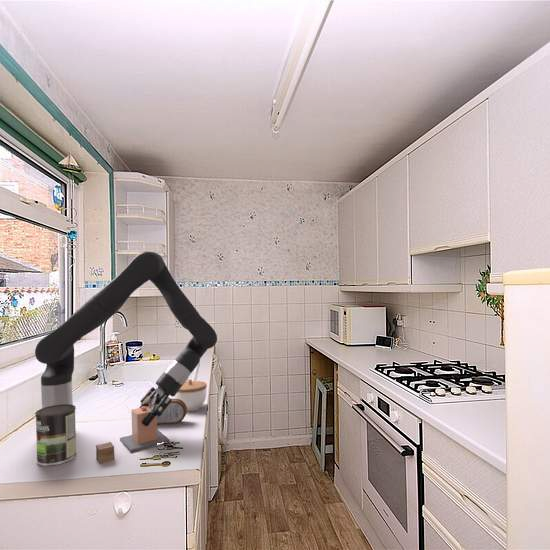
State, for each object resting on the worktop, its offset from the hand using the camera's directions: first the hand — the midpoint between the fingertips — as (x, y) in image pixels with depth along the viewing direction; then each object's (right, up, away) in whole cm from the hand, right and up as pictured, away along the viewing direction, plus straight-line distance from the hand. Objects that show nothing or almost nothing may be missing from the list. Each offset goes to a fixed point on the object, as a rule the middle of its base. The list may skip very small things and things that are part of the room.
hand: (139, 421), depth 129 cm
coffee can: (-21, -8, -10) cm, 24 cm away
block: (-6, -7, -12) cm, 15 cm away
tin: (+4, -7, +17) cm, 19 cm away
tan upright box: (+1, -6, +1) cm, 6 cm away
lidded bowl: (+9, -7, +33) cm, 35 cm away
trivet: (+1, -7, +1) cm, 7 cm away
